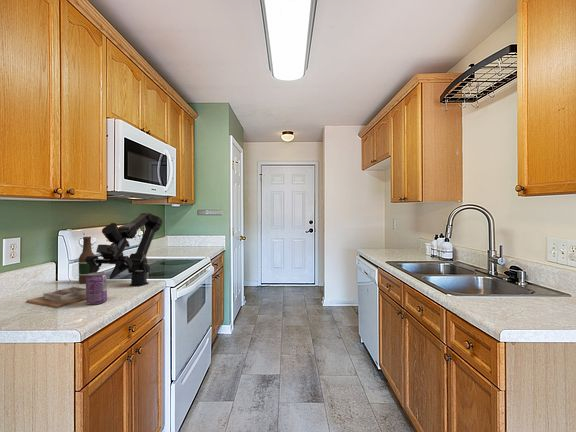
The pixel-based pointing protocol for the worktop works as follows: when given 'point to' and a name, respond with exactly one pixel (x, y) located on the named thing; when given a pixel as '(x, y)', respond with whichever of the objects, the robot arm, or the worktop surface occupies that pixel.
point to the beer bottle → (82, 263)
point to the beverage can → (96, 288)
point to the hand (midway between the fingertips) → (99, 278)
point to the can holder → (61, 297)
